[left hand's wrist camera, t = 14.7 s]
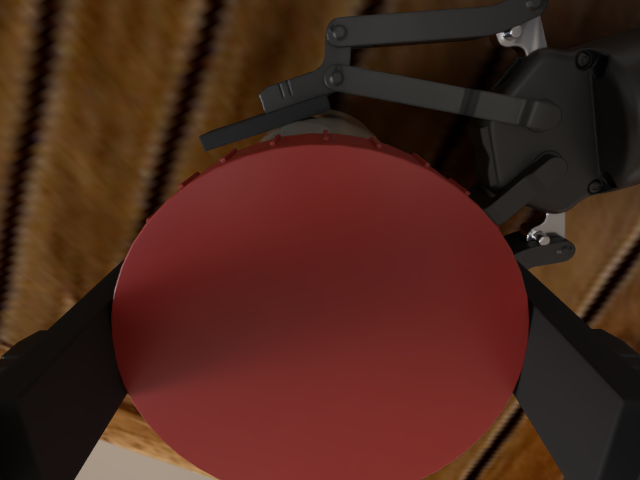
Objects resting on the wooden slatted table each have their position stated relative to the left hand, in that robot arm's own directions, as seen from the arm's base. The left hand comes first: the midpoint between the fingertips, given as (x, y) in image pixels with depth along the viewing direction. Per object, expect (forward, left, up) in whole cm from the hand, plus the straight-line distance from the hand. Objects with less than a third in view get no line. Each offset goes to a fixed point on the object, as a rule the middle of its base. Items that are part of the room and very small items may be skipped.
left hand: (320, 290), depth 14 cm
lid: (0, 0, +3) cm, 3 cm away
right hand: (+3, -4, -10) cm, 11 cm away
